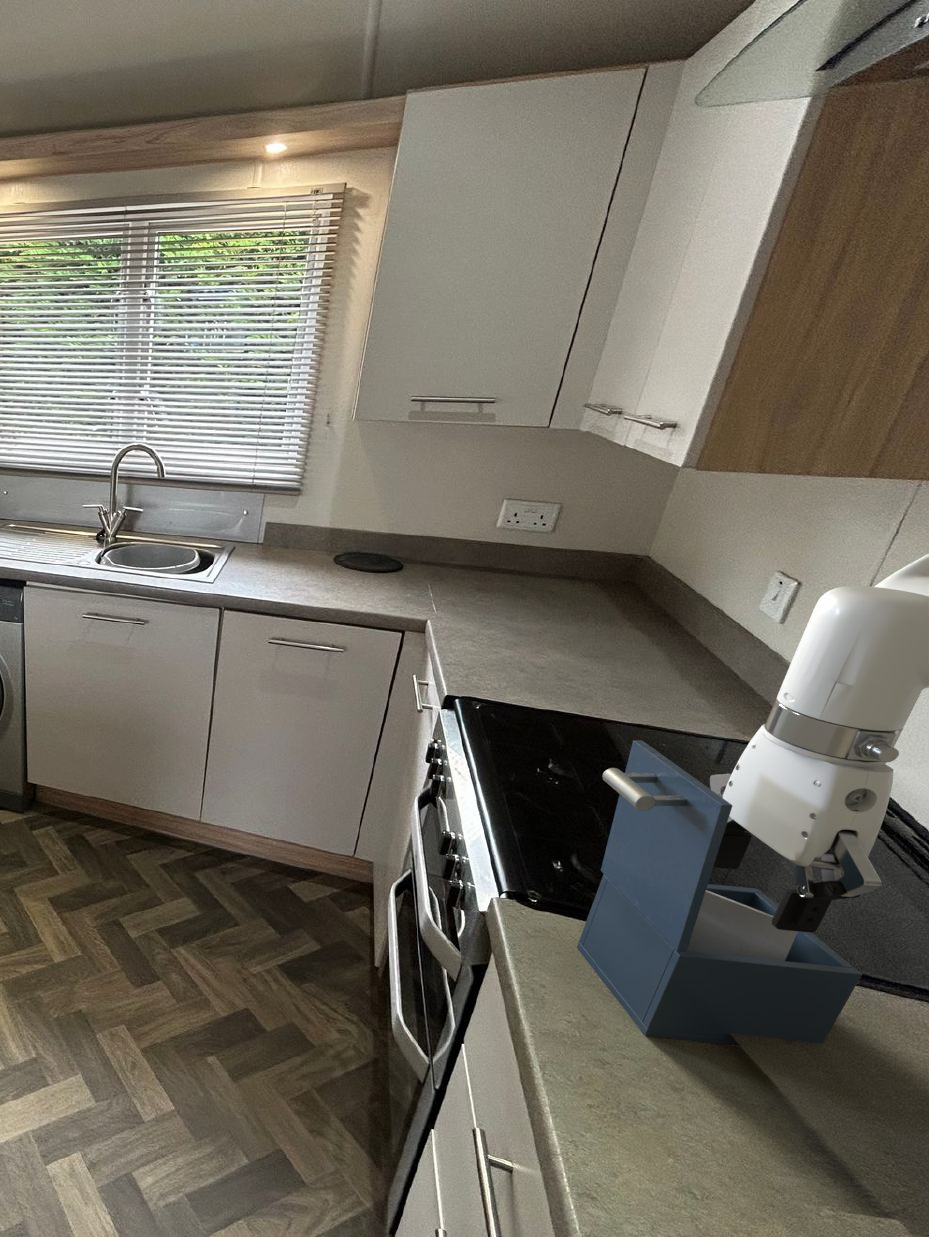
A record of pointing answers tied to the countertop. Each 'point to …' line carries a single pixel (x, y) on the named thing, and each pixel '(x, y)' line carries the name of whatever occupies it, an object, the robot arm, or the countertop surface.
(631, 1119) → the countertop surface
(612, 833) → the bin lid
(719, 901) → the grey rectangular block
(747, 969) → the waste bin
